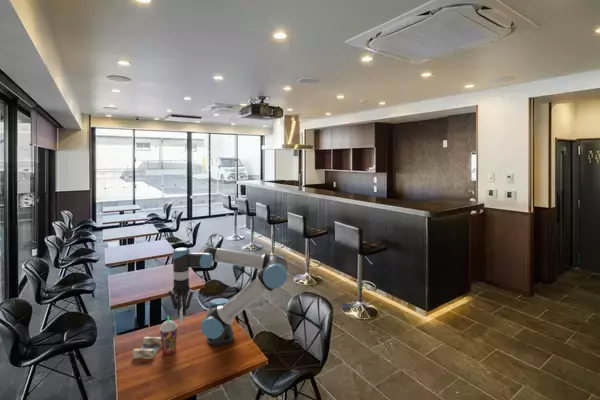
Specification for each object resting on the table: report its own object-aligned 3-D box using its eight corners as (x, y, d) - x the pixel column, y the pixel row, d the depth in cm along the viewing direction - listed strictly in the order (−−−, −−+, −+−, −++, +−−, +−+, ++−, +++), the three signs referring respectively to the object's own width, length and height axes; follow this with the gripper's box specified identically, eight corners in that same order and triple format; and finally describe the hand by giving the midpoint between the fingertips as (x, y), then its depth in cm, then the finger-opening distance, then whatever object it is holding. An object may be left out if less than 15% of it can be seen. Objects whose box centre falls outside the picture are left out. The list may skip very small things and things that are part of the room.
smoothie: (172, 357, 173) (170, 320, 170) (157, 355, 175) (156, 318, 172) (180, 348, 181) (179, 313, 179) (166, 346, 183) (165, 311, 180)
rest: (163, 344, 184) (162, 337, 184) (152, 358, 171) (152, 350, 171) (144, 344, 184) (144, 336, 184) (133, 358, 171) (132, 350, 171)
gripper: (196, 275, 176) (196, 318, 179) (171, 275, 176) (172, 317, 179) (191, 280, 169) (192, 325, 172) (165, 280, 169) (166, 324, 172)
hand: (182, 321), depth 176 cm, fingers closed
